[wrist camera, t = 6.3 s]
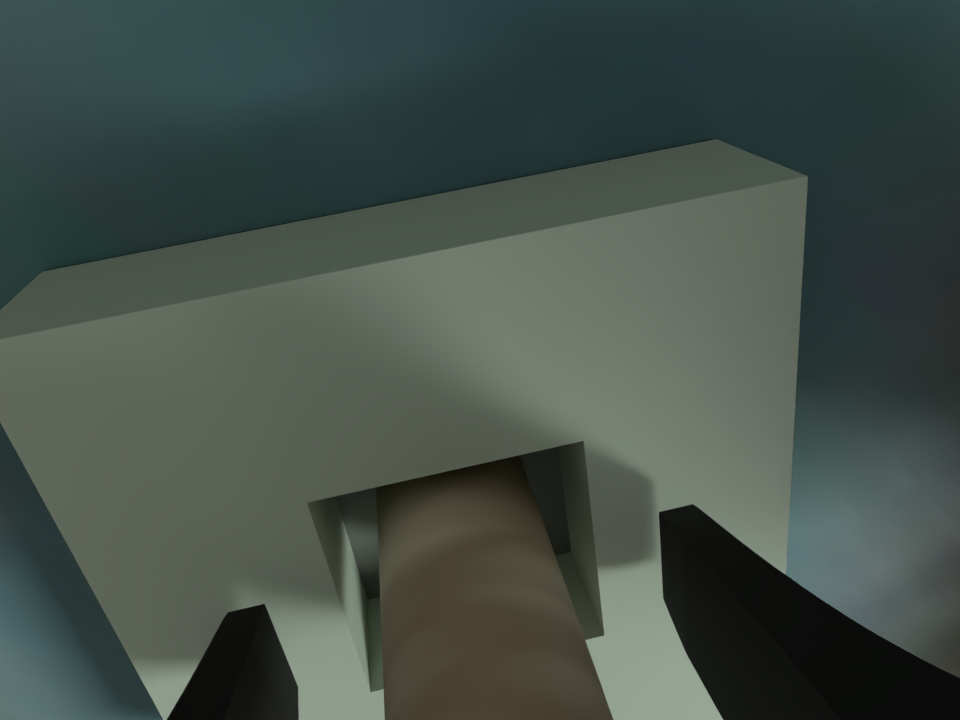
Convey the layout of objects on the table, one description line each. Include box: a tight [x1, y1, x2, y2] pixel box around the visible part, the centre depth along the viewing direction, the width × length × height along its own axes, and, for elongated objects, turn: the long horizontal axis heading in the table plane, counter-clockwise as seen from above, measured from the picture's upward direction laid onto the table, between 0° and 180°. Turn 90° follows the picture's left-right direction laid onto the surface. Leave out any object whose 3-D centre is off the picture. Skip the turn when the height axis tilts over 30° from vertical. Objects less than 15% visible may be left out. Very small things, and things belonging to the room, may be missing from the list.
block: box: [0, 139, 808, 720], centre depth 14 cm, size 12×12×3 cm
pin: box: [376, 455, 613, 720], centre depth 12 cm, size 3×3×7 cm
